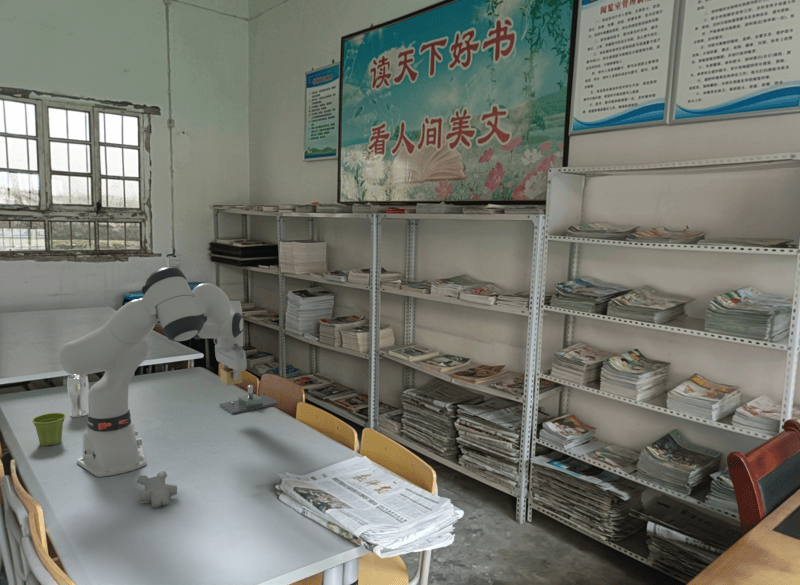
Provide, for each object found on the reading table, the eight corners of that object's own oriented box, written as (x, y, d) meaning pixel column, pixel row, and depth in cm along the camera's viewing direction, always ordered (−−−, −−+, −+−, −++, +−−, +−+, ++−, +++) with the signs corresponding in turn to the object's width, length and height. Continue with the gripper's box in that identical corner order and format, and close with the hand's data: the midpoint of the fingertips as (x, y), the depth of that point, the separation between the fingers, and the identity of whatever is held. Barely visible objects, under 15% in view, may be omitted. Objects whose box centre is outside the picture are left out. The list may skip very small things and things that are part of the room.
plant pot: (51, 449, 180) (49, 423, 179) (26, 446, 182) (24, 421, 181) (73, 438, 189) (72, 414, 188) (49, 436, 191) (48, 411, 190)
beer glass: (83, 418, 208) (81, 379, 206) (64, 417, 208) (62, 378, 206) (93, 411, 215) (91, 374, 213) (75, 411, 215) (73, 373, 213)
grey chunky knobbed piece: (141, 499, 142) (132, 470, 154) (142, 517, 143) (133, 487, 155) (180, 490, 147) (169, 463, 159) (180, 507, 148) (169, 479, 160)
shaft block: (278, 404, 229) (278, 384, 228) (232, 414, 216) (231, 393, 215) (265, 397, 238) (264, 377, 237) (219, 406, 225) (219, 385, 224)
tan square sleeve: (242, 382, 210) (242, 369, 209) (227, 385, 206) (226, 372, 205) (235, 379, 214) (235, 366, 213) (220, 381, 210) (220, 368, 210)
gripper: (250, 345, 202) (251, 382, 204) (227, 336, 218) (228, 370, 219) (234, 348, 198) (234, 385, 200) (211, 337, 213) (212, 372, 215)
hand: (231, 377), depth 210 cm, fingers closed on tan square sleeve, 6 cm apart
